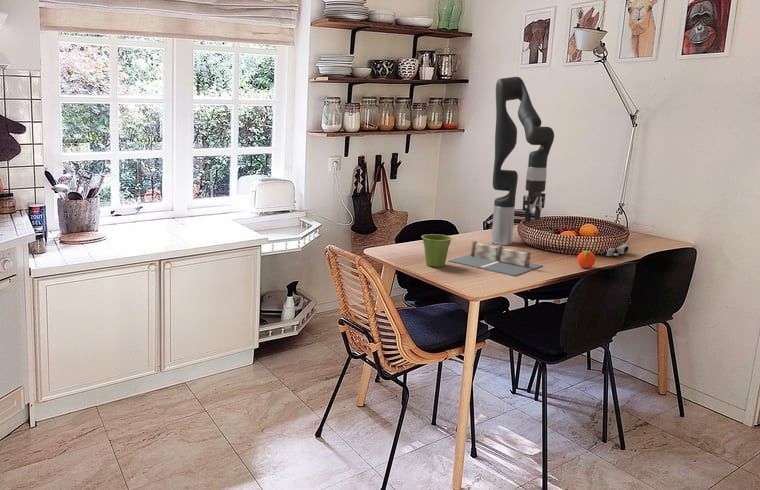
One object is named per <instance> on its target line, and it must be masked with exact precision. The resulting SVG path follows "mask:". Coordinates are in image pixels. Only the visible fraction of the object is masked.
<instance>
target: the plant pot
mask: <svg viewBox="0 0 760 490" xmlns="http://www.w3.org/2000/svg"><path fill="white" fill-rule="evenodd" d="M421 239H422V241H423V246H424V257H425V264H426V266H427V267H434V268H441V267H444V266H445V265H446V261H447V257H448V252H449V247H450V244H451V240H452V241H453V237H452V236H450V235H445V234H433V233H431V234H430V233H429V234H423V235H421Z"/></svg>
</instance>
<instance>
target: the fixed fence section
mask: <svg viewBox="0 0 760 490" xmlns="http://www.w3.org/2000/svg"><path fill="white" fill-rule="evenodd" d="M497 251H498V246H492V245H488V244H482V243H479V242H478V241H477V240H476V241H475V240H471V251H470V252H471V253H470V254H471V256H472V257H478V258H483V259H487V260H492V261H497Z"/></svg>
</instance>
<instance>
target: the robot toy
mask: <svg viewBox="0 0 760 490" xmlns="http://www.w3.org/2000/svg"><path fill="white" fill-rule="evenodd" d="M622 244H623V245H621V246H619V247H617V248H616V249H615V248H609V249H608V250H607V251H605V252H604V253H603V254H604V255H606V256H605V257H609V256H611V257H612V256H614V257H618V256H619V254H622V255H624V254H625V253H627V252H628V251H630V249H632V247H633V245H631V246H630V247H629V246H628V245H627V244H626V243H622ZM604 255H603V256H604Z"/></svg>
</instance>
